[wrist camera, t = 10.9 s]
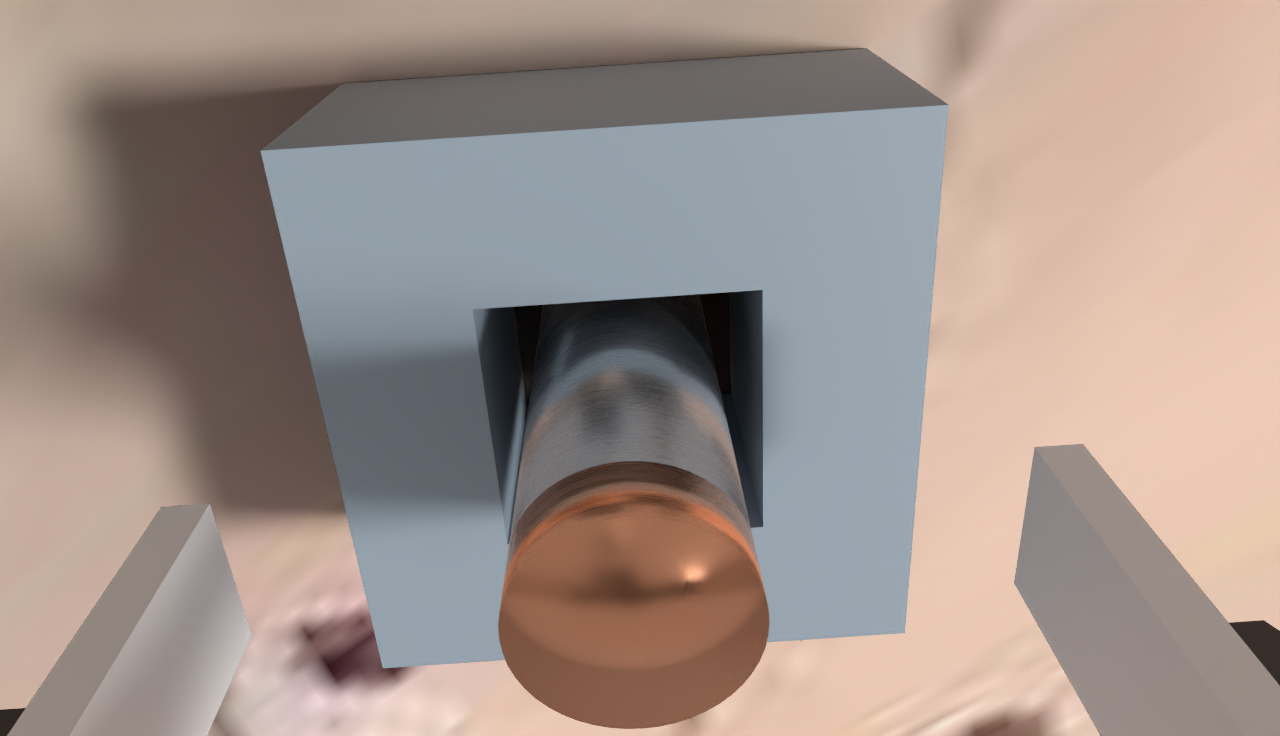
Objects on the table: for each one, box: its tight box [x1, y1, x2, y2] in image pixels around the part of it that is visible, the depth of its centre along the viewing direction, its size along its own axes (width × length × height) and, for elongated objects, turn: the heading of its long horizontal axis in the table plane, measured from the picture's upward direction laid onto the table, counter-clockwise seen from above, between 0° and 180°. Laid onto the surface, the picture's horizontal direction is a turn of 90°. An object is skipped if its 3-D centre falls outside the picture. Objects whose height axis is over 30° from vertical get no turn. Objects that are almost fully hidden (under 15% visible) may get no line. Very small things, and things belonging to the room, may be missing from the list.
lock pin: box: [498, 294, 770, 729], centre depth 20 cm, size 4×4×12 cm
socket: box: [261, 48, 948, 668], centre depth 22 cm, size 12×12×6 cm
